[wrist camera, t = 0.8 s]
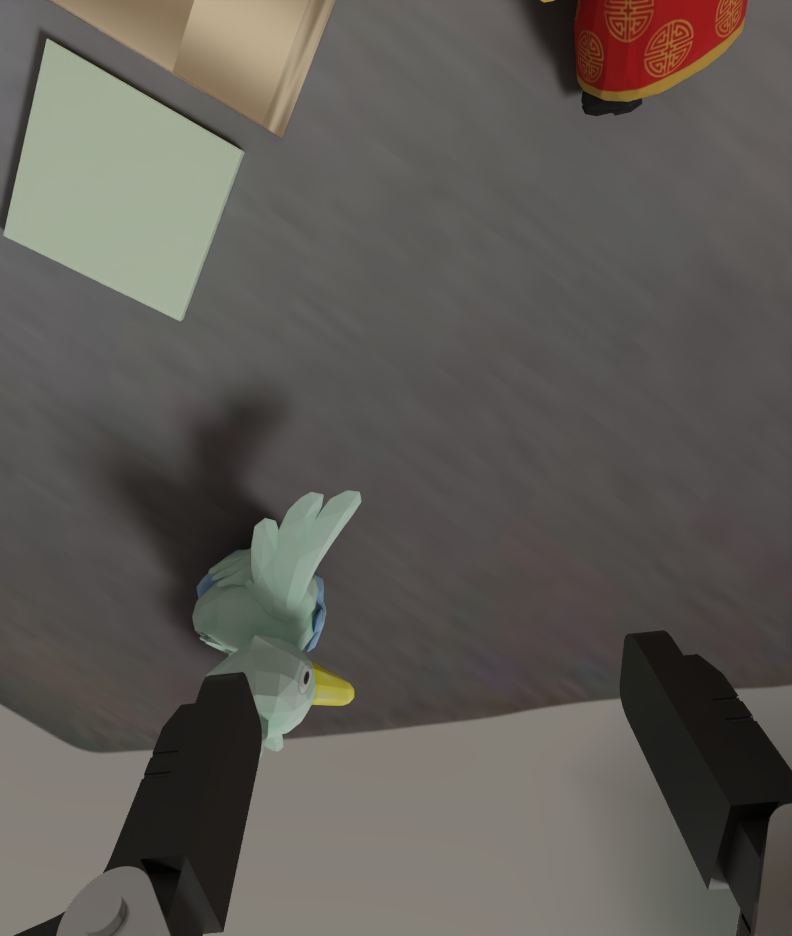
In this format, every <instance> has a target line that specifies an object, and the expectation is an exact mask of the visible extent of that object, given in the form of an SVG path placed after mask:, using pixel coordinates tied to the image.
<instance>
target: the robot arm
mask: <svg viewBox="0 0 792 936" xmlns="http://www.w3.org/2000/svg"><path fill="white" fill-rule="evenodd" d="M620 696H621V702H622V706H623V709H624V712H625V715H626V717H627V719H628V721H629V724H630V726H631V728H632V730H633V732H634V734H635V736H636V738H637V741H638V743H639V745H640V747H641V749H642V751H643V753H644V755H645V758H646V760H647V762H648V764H649V766H650V768H651V770H652V772H653V775H654V777H655V779H656V781H657V783H658V785H659V787H660V789H661V791H662V794H663V796H664V798H665V800H666V802H667V804H668V806H669V808H670V811H671V813H672V815H673V817H674V819H675V821H676V823H677V825H678V828H679V829H680V832H681V834H682V836H683V838H684V840H685V842H686V844H687V847H688V849H689V851H690V853H691V855H692V857H693V859H694V861H695V864H696V866H697V868H698V870H699V872H700V874H701V876H702V878H703V881H704V882H705V884H706V887H707V889H708V890H715V889H726V888H730V889H731V891H732V893H733V895H734V897H735V899H736V901H737V903H738V905H739V907H740V912H739V916H738V923H737V930H736V936H792V770H791V769H790V767H789V766H788V765H787V764H786V762H785V760H784V759H783V758H782V757H781V755H780V753H779V752H778V751H777V750H776V748H775V747H774V745H773V744H772V742H771V741H770V740H769V738H768V737H767V735H766V734H765V732H764V731H763V730H762V728H761V727H760V725H759V724H758V723H757V721H754V720H753V716H752V714H751V713H750V711H749V710H748V709H747V707H746V706H745V704H744V703H743V702H742V701H740V700H739V696H738V695H737V693H736V692H735V690H734V689H733V688H732V686H731V685H730V683H729V682H728V681H727V679H726V678H725V676H724V675H723V674H722V673H721V672H720V671H719V670H717V669H716V668H715V667H714V666H712V665H711V664H710V663H708V662H707V661H706V660H704V659H703V658H702V657H701V656H699V655H698V654H695V655H685V656H683V654H682V652H681V651H680V649H679V648H678V646H677V645H676V643H675V642H674V640H673V639H672V637H671V636H670V635H669V634H668V633H667V632H666V631H664V630H663V631H653V632H643V633H633V634H627V635H626V636H625V640H624V648H623V658H622V667H621V677H620ZM261 746H262V727H261V721H260V717H259V714H258V711H257V708H256V705H255V701H254V698H253V695H252V692H251V689H250V686H249V683H248V679H247V677H246V675H245V673H244V672H238V673H228V674H218V675H208V676H207V677H206V678H205V679H204V681H203V683H202V686H201V689H200V691H199V694H198V697H197V700H196V703H195V704H185V705H181V706H180V707H179V708H178V709H177V711H176V712H175V713H174V714H173V716H172V717H171V718H170V719H169V720H168V722H167V723H166V724H165V725H164V727H163V728H162V731H161V733H160V736H159V738H158V741H157V743H156V746H155V748H154V751H153V757H152V758H150V761H149V763H148V766H147V768H146V771H145V773H144V776H145V777H144V779H142V781H141V783H140V786H139V788H138V791H137V793H136V796H135V798H134V801H133V803H132V806H131V808H130V811H129V813H128V816H127V818H126V821H125V823H124V826H123V828H122V831H121V833H120V836H119V838H118V841H117V843H116V846H115V848H114V851H113V853H112V856H111V858H110V861H109V863H108V865H107V867H106V869H105V870H104V872H103V874H101V875H100V876H98V877H96V878H95V879H93V880H92V881H91V882H90V883H89V884H87V885H86V886H85V887H84V888H83V889H82V890H81V891H80V892H79V893H78V894H77V896H76V897H75V898H74V899H73V901H72V902H71V903H70V905H69V906H68V908H67V910H66V911H65V912H63V913H62V914H60V915H58V916H57V917H54V918H52V919H50V920H48V921H46V922H44V923H41V924H39V925H37V926H35V927H32V928H30V929H28V930H26V931H23V932H21V933H19V934H16V935H14V936H202V935H203V934H207V933H217V932H223V931H224V926H225V921H226V917H227V912H228V907H229V902H230V897H231V892H232V888H233V883H234V878H235V873H236V868H237V863H238V859H239V854H240V849H241V844H242V840H243V834H244V829H245V825H246V820H247V815H248V811H249V806H250V801H251V796H252V792H253V786H254V782H255V777H256V771H257V768H258V763H259V758H260V753H261Z"/></svg>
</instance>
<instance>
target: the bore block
mask: <svg viewBox="0 0 792 936" xmlns="http://www.w3.org/2000/svg"><path fill="white" fill-rule="evenodd" d="M49 1H50V2H52V3H54V4H55V5H57V6H59V7H60V8H62V9H64V10H65V11H67V12H69V13H70V14H72V15H74V16H76V17H77V18H79V19H81V20H82V21H84V22H86V23H87V24H89V25H91V26H92V27H94V28H96V29H97V30H99V31H101V32H103V33H104V34H106V35H108V36H109V37H111V38H113V39H114V40H116V41H118V42H119V43H121V44H123V45H124V46H126V47H128V48H130V49H131V50H133V51H135V52H136V53H138V54H140V55H141V56H143V57H145V58H146V59H148V60H150V61H151V62H153V63H155V64H157V65H158V66H160V67H162V68H163V69H165V70H167V71H168V72H170V73H172V74H173V75H175V76H177V77H179V78H180V79H182V80H184V81H185V82H187V83H189V84H190V85H192V86H194V87H195V88H197V89H199V90H200V91H202V92H204V93H206V94H207V95H209V96H211V97H212V98H214V99H216V100H217V101H219V102H221V103H222V104H224V105H226V106H227V107H229V108H231V109H233V110H234V111H236V112H238V113H239V114H241V115H243V116H244V117H246V118H248V119H249V120H251V121H253V122H254V123H256V124H258V125H260V126H261V127H263V128H265V129H266V130H268V131H270V132H271V133H273V134H275V135H276V136H278V137H280V138H281V139H282V137H283V134H284V132H285V129H286V127H287V124H288V121H289V119H290V116H291V114H292V111H293V109H294V106H295V103H296V101H297V98H298V96H299V93H300V91H301V88H302V85H303V83H304V80H305V78H306V75H307V72H308V70H309V67H310V65H311V62H312V60H313V57H314V54H315V52H316V49H317V47H318V44H319V42H320V39H321V36H322V34H323V31H324V29H325V26H326V24H327V21H328V18H329V16H330V13H331V11H332V8H333V5H334V3H335V0H49Z"/></svg>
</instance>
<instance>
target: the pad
mask: <svg viewBox="0 0 792 936" xmlns="http://www.w3.org/2000/svg"><path fill="white" fill-rule="evenodd" d="M244 153H245V152H244V151H243V150H241V149H239V148H237V147H236V146H234V145H232V144H230V143H229V142H227V141H225V140H223V139H222V138H220V137H218V136H217V135H215V134H213V133H211V132H210V131H208V130H206V129H204V128H203V127H201V126H199V125H197V124H196V123H194V122H192V121H190V120H189V119H187V118H185V117H184V116H182V115H180V114H178V113H177V112H175V111H173V110H171V109H170V108H168V107H166V106H164V105H163V104H161V103H159V102H158V101H156V100H154V99H152V98H151V97H149V96H147V95H145V94H144V93H142V92H140V91H138V90H137V89H135V88H133V87H131V86H130V85H128V84H126V83H125V82H123V81H121V80H119V79H118V78H116V77H114V76H112V75H111V74H109V73H107V72H105V71H104V70H102V69H100V68H99V67H97V66H95V65H93V64H92V63H90V62H88V61H86V60H85V59H83V58H81V57H79V56H78V55H76V54H74V53H73V52H71V51H69V50H67V49H66V48H64V47H62V46H60V45H59V44H57V43H55V42H53V41H51V40H49V39H47V40H46V44H45V49H44V54H43V58H42V63H41V67H40V72H39V76H38V81H37V85H36V90H35V94H34V99H33V103H32V108H31V112H30V117H29V122H28V126H27V131H26V135H25V140H24V144H23V149H22V153H21V158H20V162H19V167H18V171H17V176H16V180H15V185H14V190H13V194H12V199H11V203H10V208H9V212H8V217H7V221H6V226H5V230H4V235H3V236H5V237H7V238H9V239H11V240H13V241H16V242H18V243H20V244H22V245H24V246H26V247H28V248H30V249H32V250H34V251H36V252H38V253H40V254H42V255H44V256H46V257H49V258H51V259H53V260H55V261H57V262H59V263H61V264H63V265H65V266H67V267H69V268H71V269H73V270H75V271H77V272H79V273H82V274H84V275H86V276H88V277H90V278H92V279H94V280H96V281H98V282H100V283H102V284H104V285H106V286H108V287H110V288H113V289H115V290H117V291H119V292H121V293H123V294H125V295H127V296H129V297H131V298H133V299H135V300H137V301H139V302H141V303H143V304H146V305H148V306H150V307H152V308H154V309H156V310H158V311H160V312H162V313H164V314H166V315H168V316H170V317H172V318H174V319H176V320H179V321H181V320H183V319H184V316H185V313H186V311H187V308H188V305H189V302H190V300H191V297H192V294H193V292H194V289H195V286H196V283H197V281H198V278H199V275H200V272H201V270H202V267H203V264H204V262H205V259H206V256H207V253H208V251H209V248H210V245H211V242H212V240H213V237H214V234H215V232H216V229H217V226H218V223H219V221H220V218H221V215H222V212H223V210H224V207H225V204H226V202H227V199H228V196H229V193H230V191H231V188H232V185H233V183H234V180H235V177H236V174H237V172H238V169H239V166H240V163H241V161H242V158H243V155H244Z"/></svg>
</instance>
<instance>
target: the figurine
mask: <svg viewBox="0 0 792 936" xmlns="http://www.w3.org/2000/svg"><path fill="white" fill-rule="evenodd" d="M541 1H543V2H544V3H545V2H550V1H554V0H541ZM746 6H747V0H578V3H577V9H576V15H575V21H574V34H575V51H576V68H577V81H578V83H579V85H580V86H581V88H582V89H583V92H582V100H581V102H582V104H583V106H582V108H583V110H584V112H585V114H588V115H594V116H599V115H603V114H608V113H613V114H614V115H619V114H624V113H628V112H631V111H633V110H634V109H635V108H637V107H638V106H640V105H641V104H642V98H644V97H648V96H651V95H655V94H659V93H661V92H663V91H665V90H667V89H669V88H671V87H673V86H674V85H676V84H678V83H679V82H681V81H683V80H684V79H686V78H688V77H690V76H691V75H693V74H695V73H696V72H698V71H700V70H701V69H703V68H705V67H707V66H708V65H709V64H710V63H711V62H713V61H714V60H715V59H716V58H718V57H719V56H720V55H721V54H722V53H724V52H725V51H726V50H727V49H728V48H729V46H730V45H731V44H732V43H733V41H734V40H735V39H736V38H737V37H738V35H739V34H740V33H741V32H742V31H743V28H744V21H745V14H746Z"/></svg>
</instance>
